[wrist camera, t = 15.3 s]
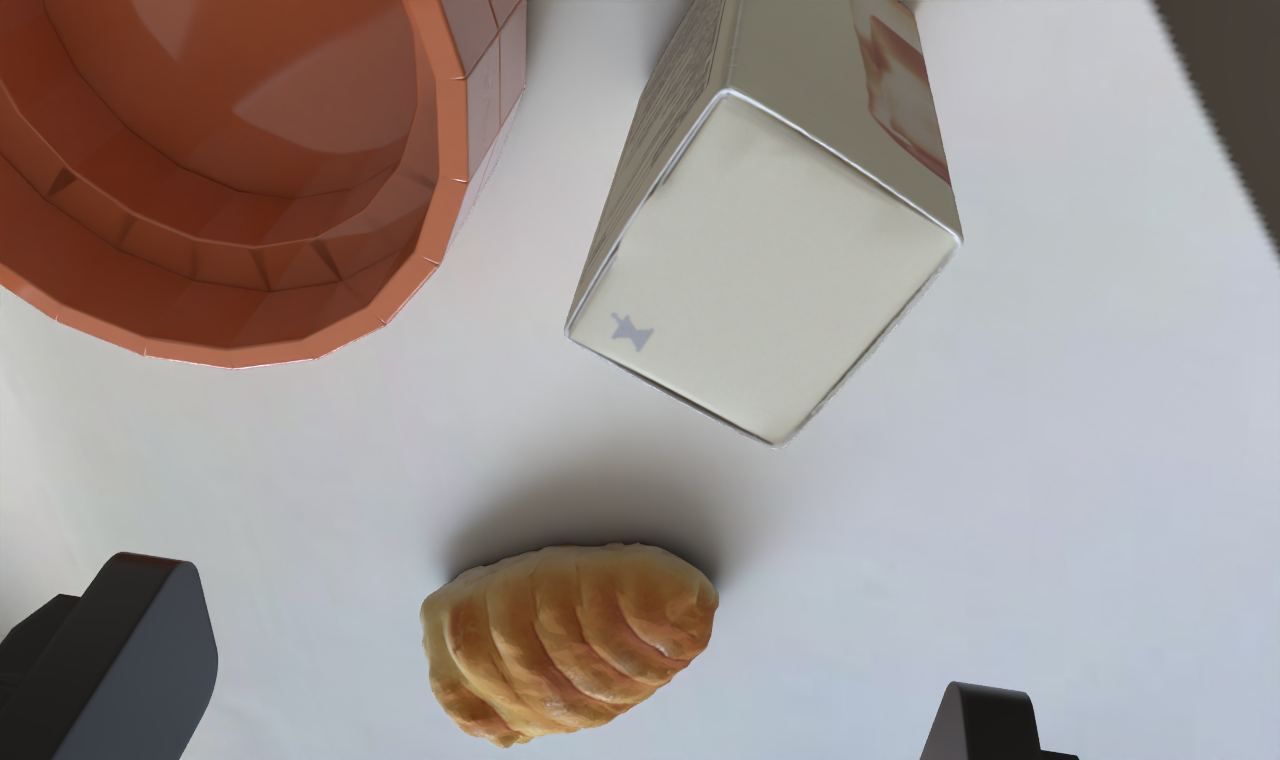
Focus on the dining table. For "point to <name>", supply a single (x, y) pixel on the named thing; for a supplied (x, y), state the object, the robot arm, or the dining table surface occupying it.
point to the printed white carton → (770, 210)
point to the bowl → (244, 163)
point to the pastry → (562, 637)
